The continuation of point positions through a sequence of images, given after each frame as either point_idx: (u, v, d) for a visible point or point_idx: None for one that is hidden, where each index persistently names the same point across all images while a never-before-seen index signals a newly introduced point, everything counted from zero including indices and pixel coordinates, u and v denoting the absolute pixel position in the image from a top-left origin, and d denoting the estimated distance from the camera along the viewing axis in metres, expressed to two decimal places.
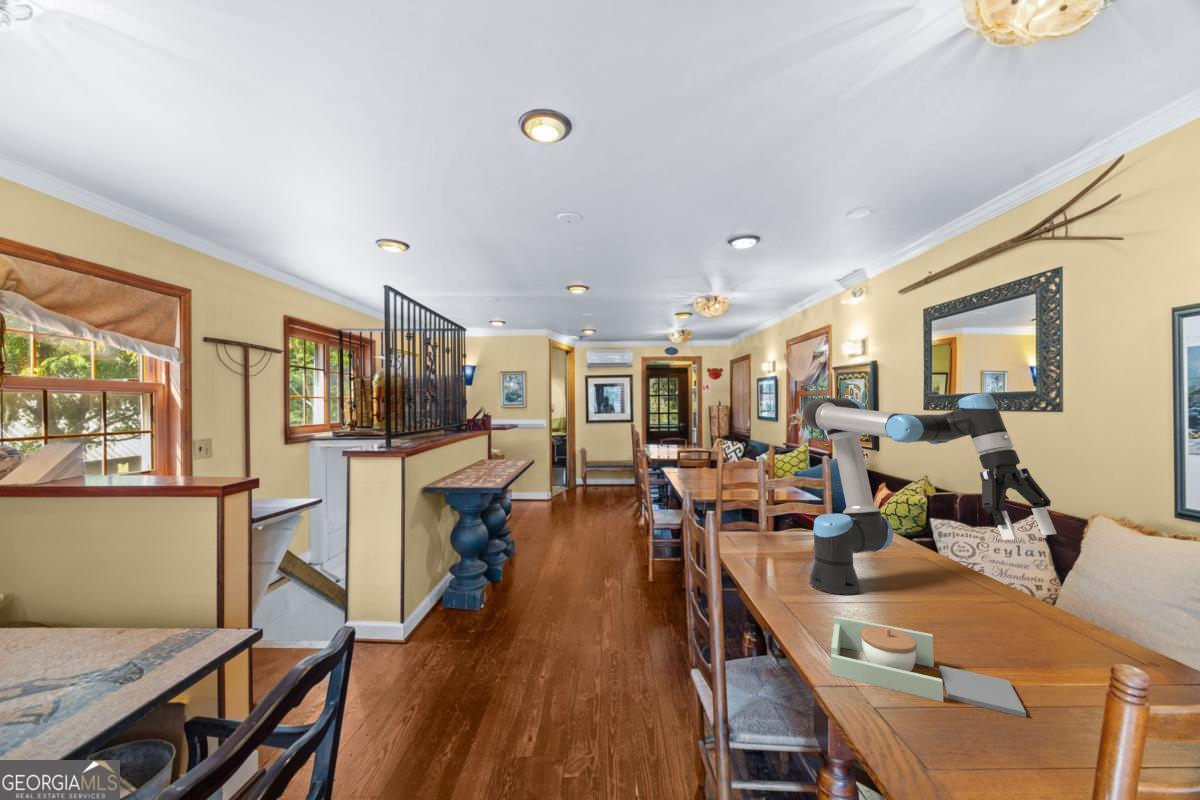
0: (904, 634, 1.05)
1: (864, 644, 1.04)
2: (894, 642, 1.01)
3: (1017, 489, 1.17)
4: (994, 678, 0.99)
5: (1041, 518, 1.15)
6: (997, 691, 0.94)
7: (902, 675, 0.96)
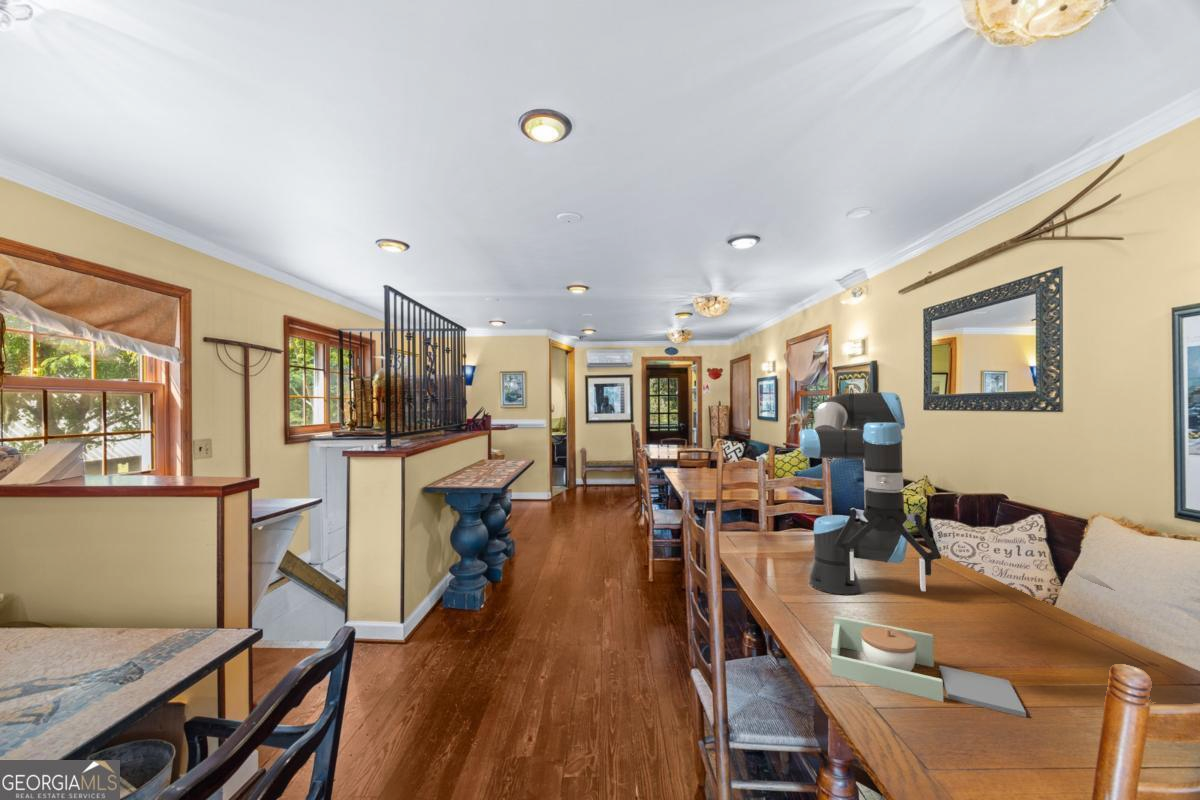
0: (904, 634, 1.05)
1: (864, 644, 1.04)
2: (894, 642, 1.01)
3: None
4: (994, 678, 0.99)
5: (920, 570, 1.01)
6: (997, 691, 0.94)
7: (902, 675, 0.96)
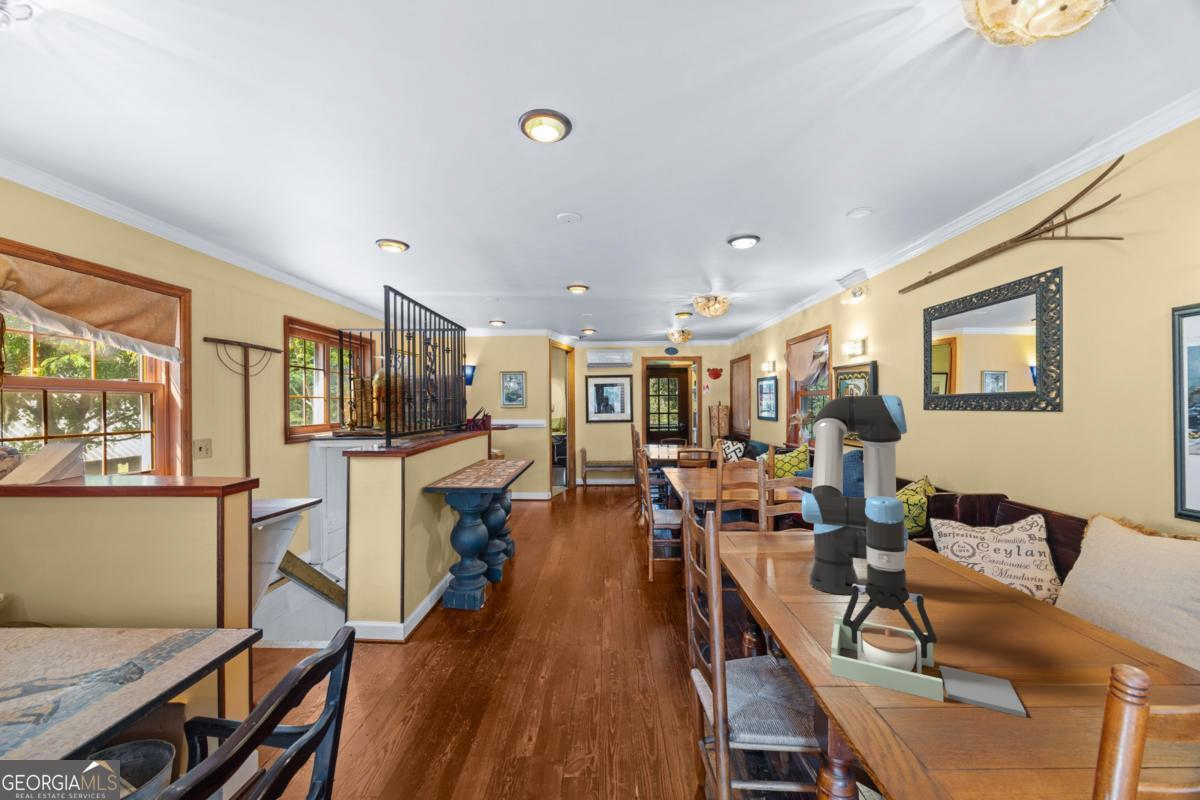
0: (904, 634, 1.05)
1: (864, 644, 1.04)
2: (894, 642, 1.01)
3: None
4: (994, 678, 0.99)
5: (916, 652, 1.01)
6: (997, 691, 0.94)
7: (902, 675, 0.96)
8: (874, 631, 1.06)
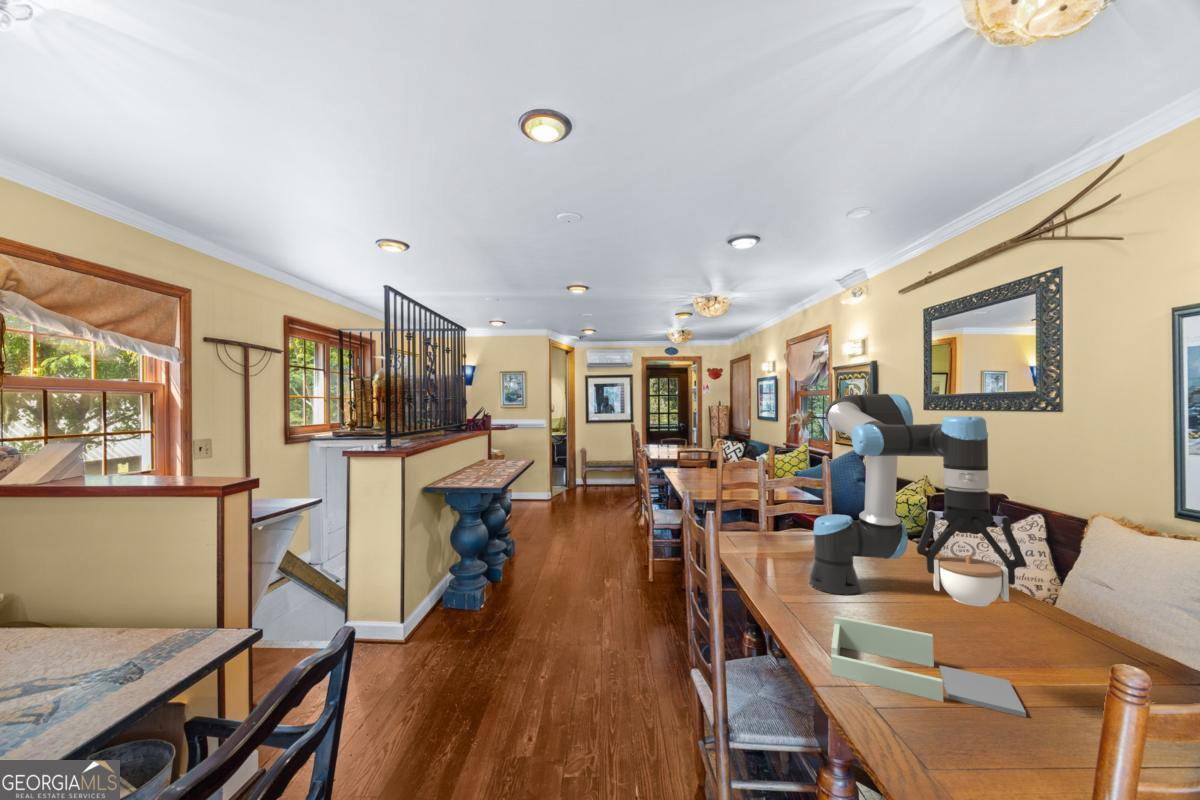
0: (986, 562, 0.97)
1: (943, 572, 0.97)
2: (978, 567, 0.94)
3: (984, 537, 0.96)
4: (994, 678, 0.99)
5: None
6: (997, 691, 0.94)
7: (902, 675, 0.96)
8: (952, 560, 0.99)
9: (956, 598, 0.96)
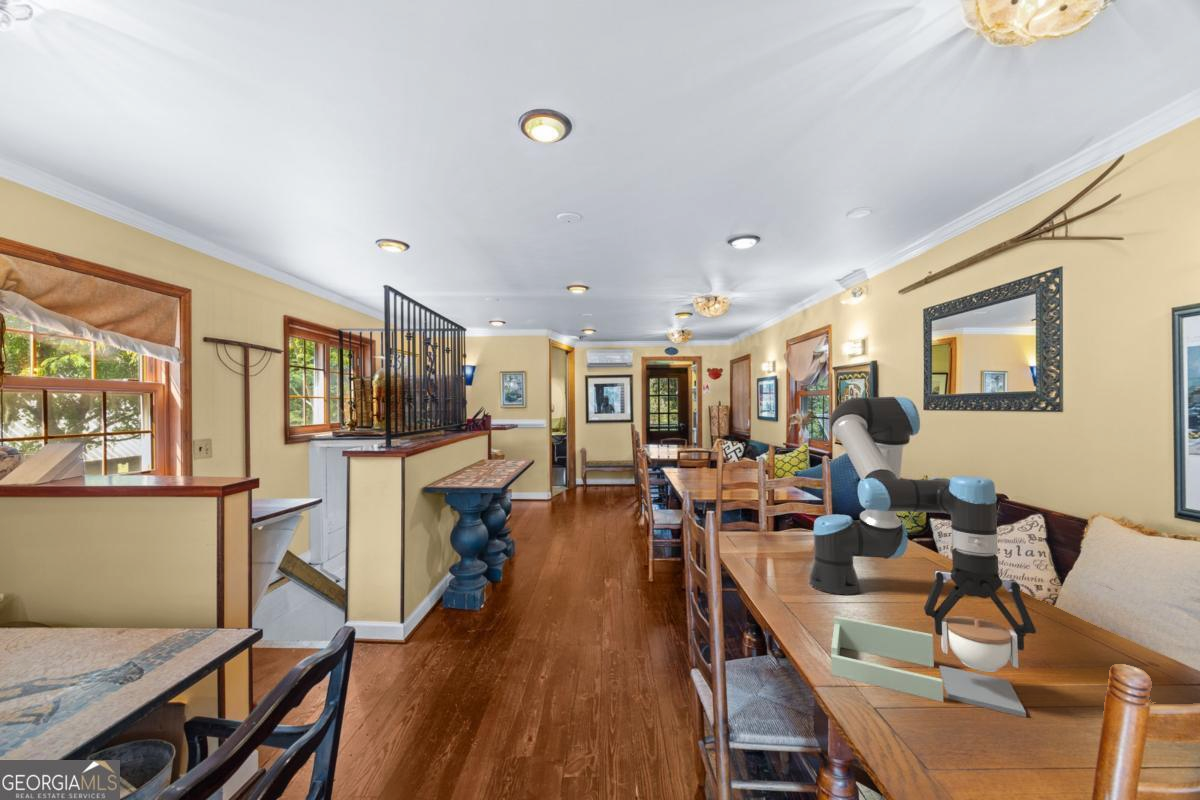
0: (994, 624, 0.97)
1: (952, 635, 0.96)
2: (987, 632, 0.93)
3: None
4: (994, 678, 0.99)
5: None
6: (997, 691, 0.94)
7: (902, 675, 0.96)
8: (960, 621, 0.98)
9: (965, 662, 0.95)
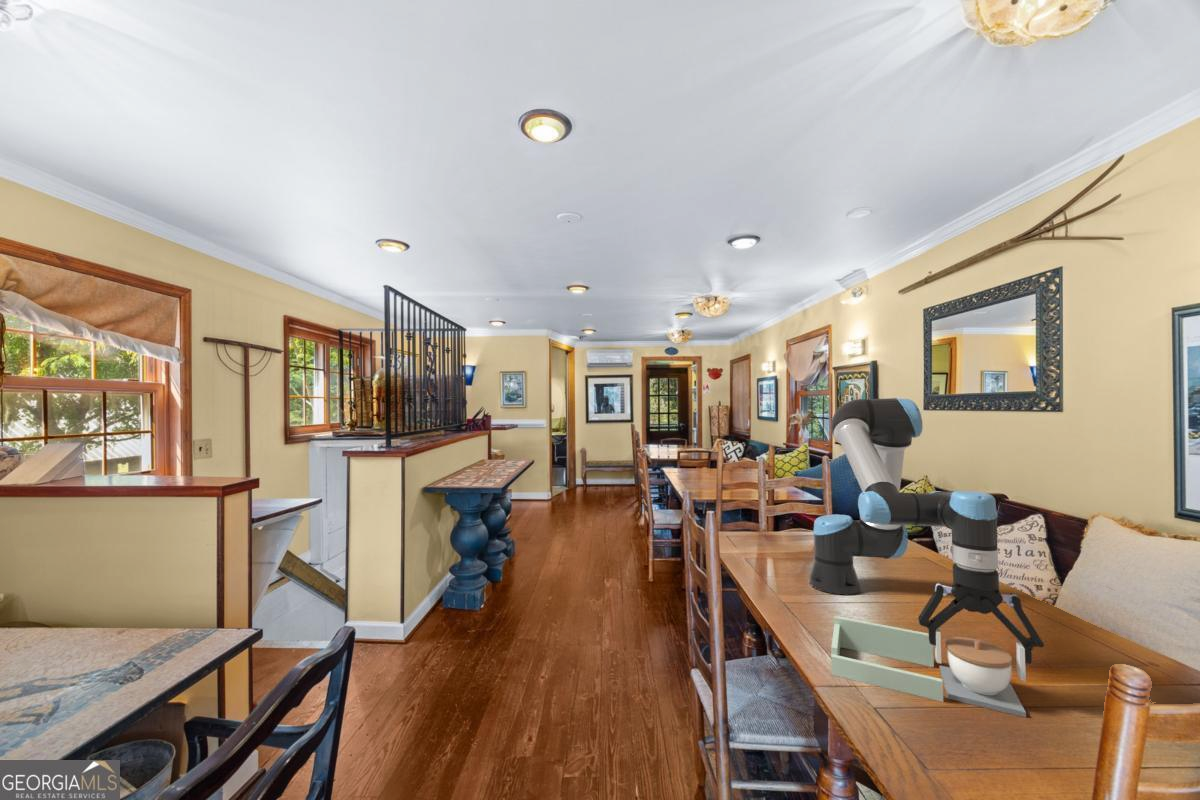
0: (995, 646, 0.97)
1: (952, 658, 0.96)
2: (987, 656, 0.93)
3: None
4: None
5: (1017, 657, 0.93)
6: None
7: (902, 675, 0.96)
8: (961, 643, 0.98)
9: (965, 685, 0.95)
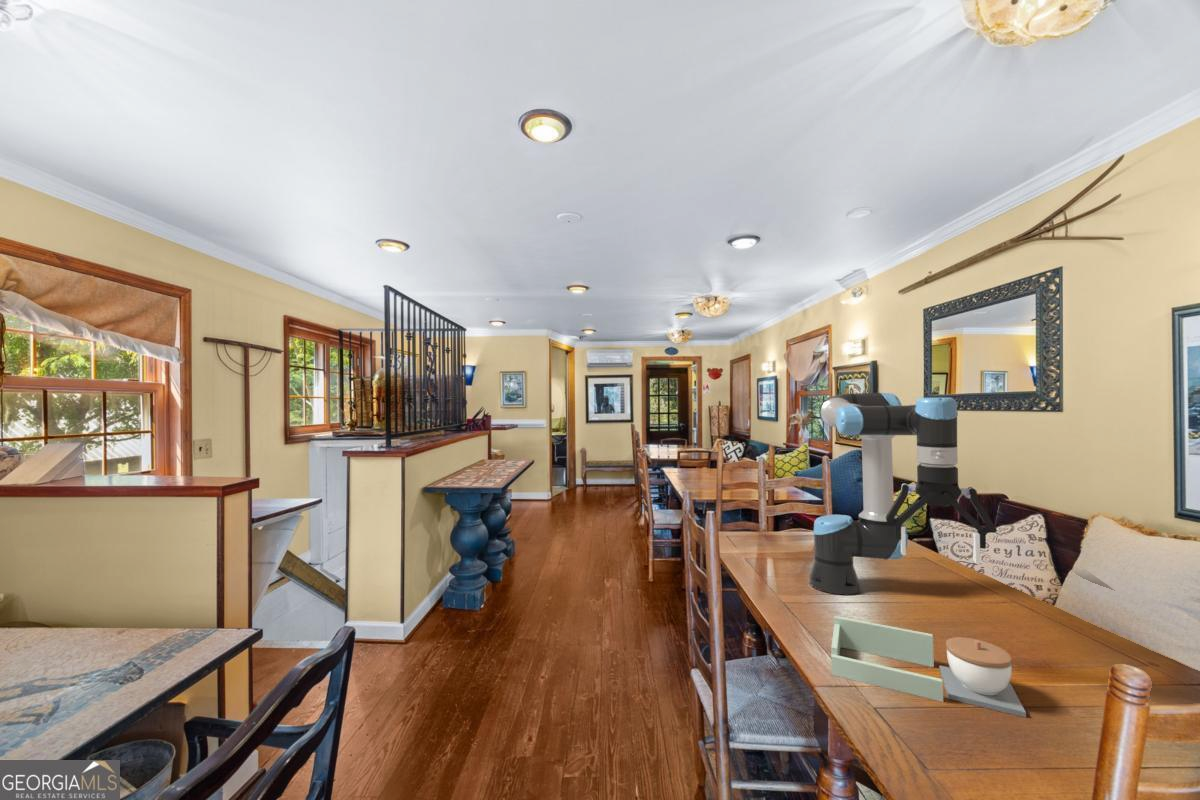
0: (995, 647, 0.97)
1: (952, 658, 0.96)
2: (987, 656, 0.93)
3: None
4: None
5: (973, 544, 1.02)
6: None
7: (902, 675, 0.96)
8: (961, 643, 0.98)
9: (965, 685, 0.95)
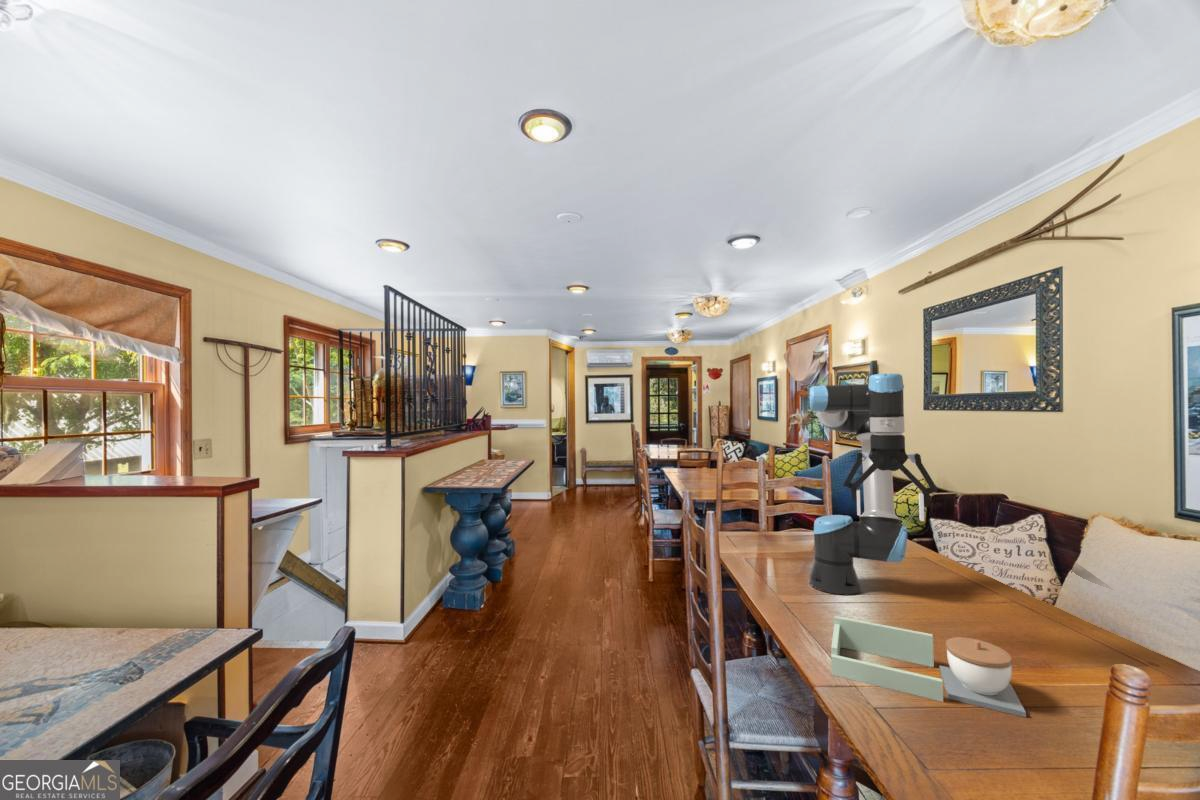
0: (995, 647, 0.97)
1: (952, 658, 0.96)
2: (987, 656, 0.93)
3: None
4: None
5: (919, 504, 1.14)
6: None
7: (902, 675, 0.96)
8: (961, 643, 0.98)
9: (965, 685, 0.95)
